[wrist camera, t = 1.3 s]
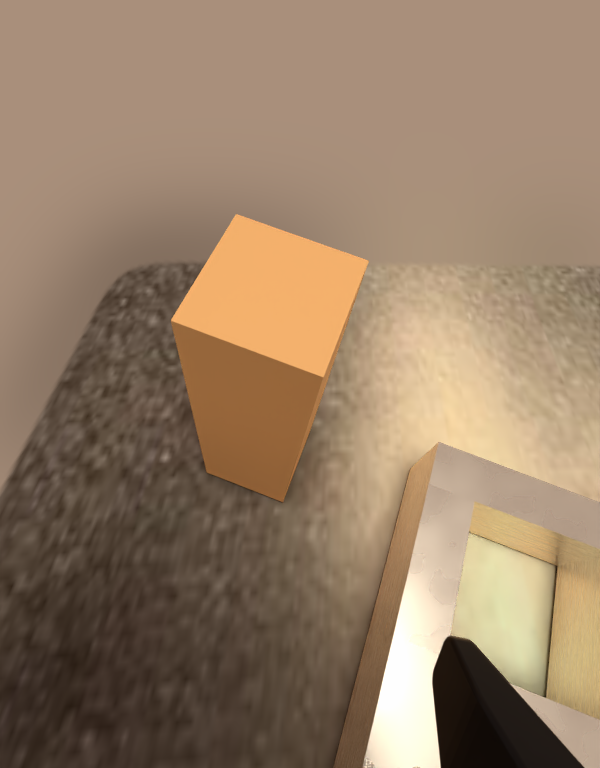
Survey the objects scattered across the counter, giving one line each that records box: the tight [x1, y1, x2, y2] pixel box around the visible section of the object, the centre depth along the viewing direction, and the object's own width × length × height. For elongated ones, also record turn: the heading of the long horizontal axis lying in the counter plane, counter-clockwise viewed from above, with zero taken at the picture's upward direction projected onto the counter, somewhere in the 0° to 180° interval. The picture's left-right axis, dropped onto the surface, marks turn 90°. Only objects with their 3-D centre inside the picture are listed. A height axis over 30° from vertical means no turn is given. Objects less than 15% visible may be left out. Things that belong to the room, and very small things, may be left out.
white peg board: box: [333, 442, 600, 768], centre depth 18 cm, size 20×10×4 cm, turn 160°
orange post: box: [171, 214, 369, 502], centre depth 18 cm, size 4×4×13 cm
